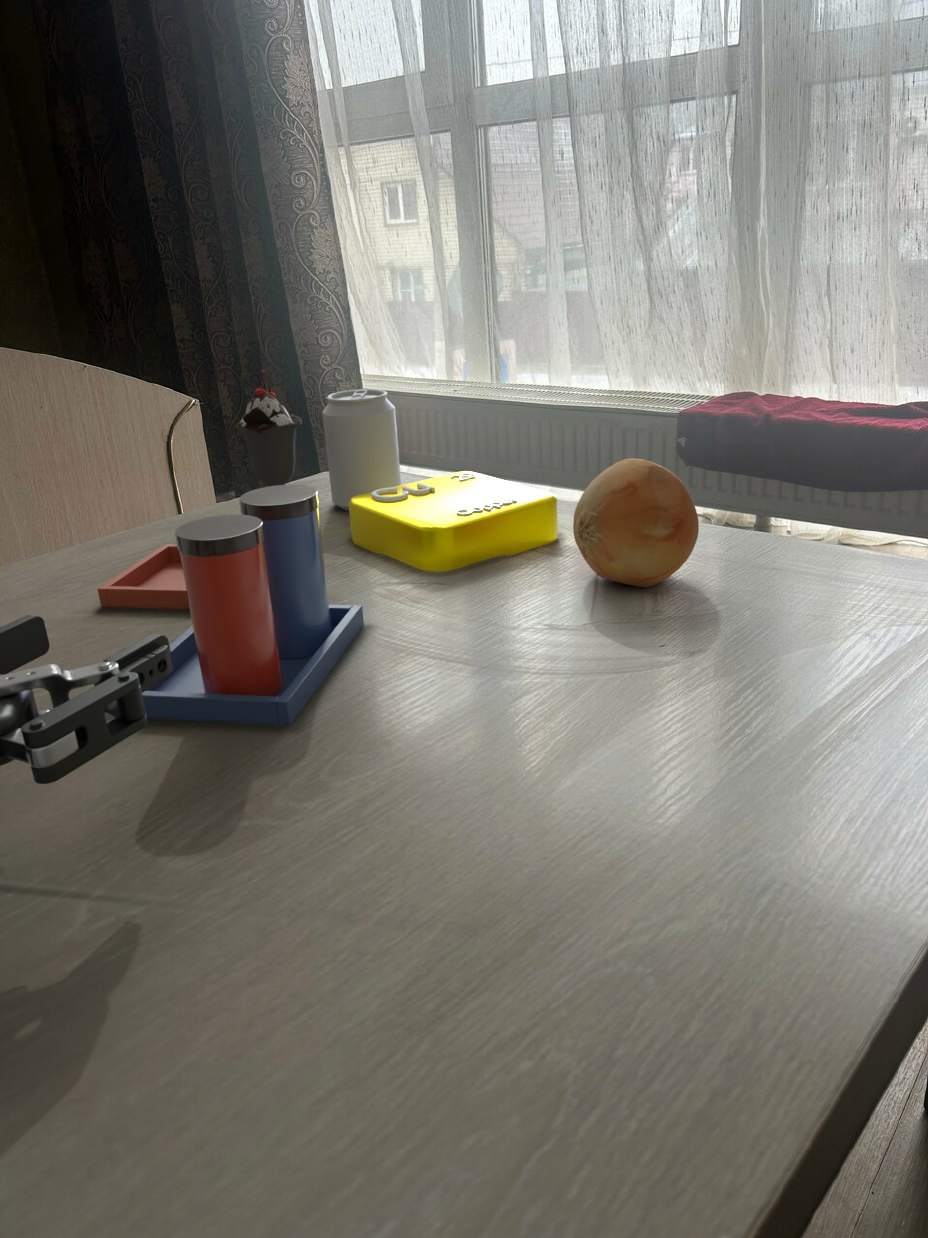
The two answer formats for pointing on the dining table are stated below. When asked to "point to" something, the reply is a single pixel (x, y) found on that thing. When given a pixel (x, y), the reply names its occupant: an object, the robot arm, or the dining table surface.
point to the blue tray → (300, 680)
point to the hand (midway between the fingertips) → (101, 641)
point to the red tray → (149, 583)
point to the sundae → (269, 437)
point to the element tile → (453, 520)
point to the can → (360, 444)
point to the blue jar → (293, 565)
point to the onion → (636, 523)
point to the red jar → (231, 604)
